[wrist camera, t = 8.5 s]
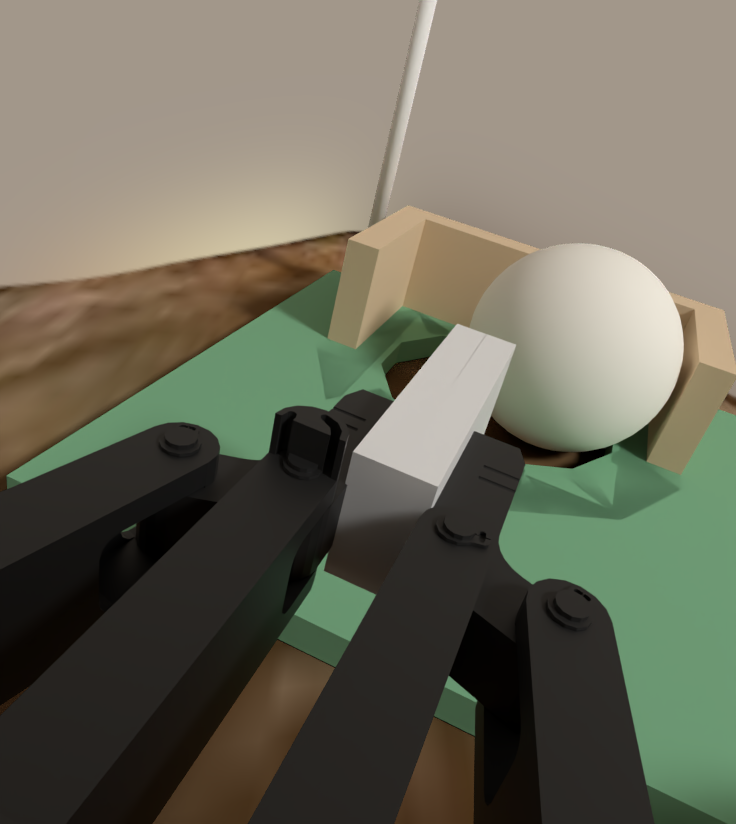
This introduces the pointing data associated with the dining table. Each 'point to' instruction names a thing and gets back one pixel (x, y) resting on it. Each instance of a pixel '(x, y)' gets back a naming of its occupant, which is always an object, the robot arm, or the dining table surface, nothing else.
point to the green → (538, 487)
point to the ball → (581, 346)
